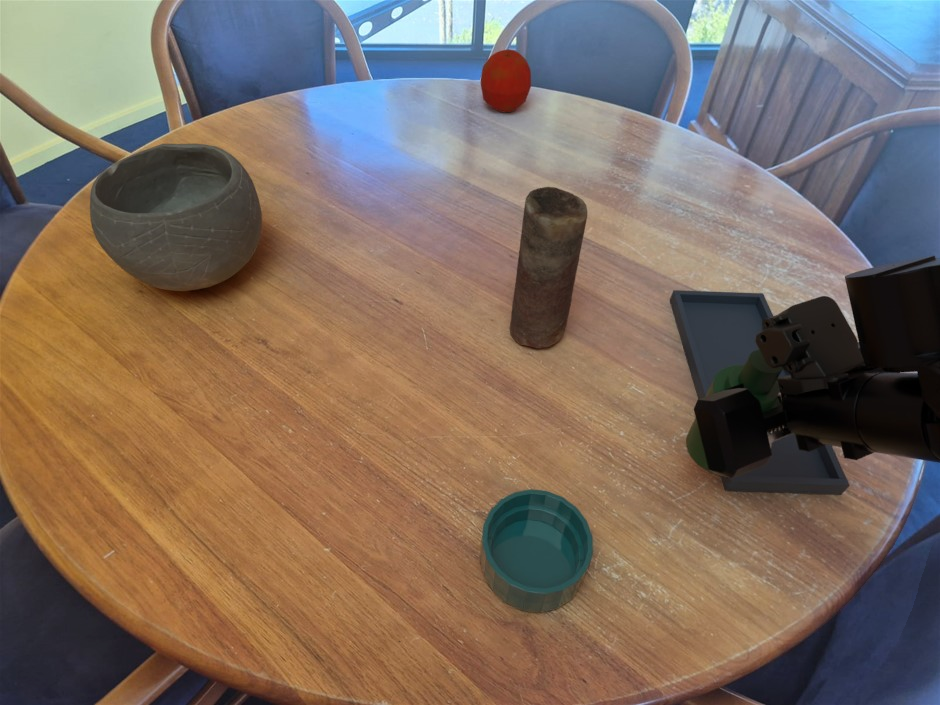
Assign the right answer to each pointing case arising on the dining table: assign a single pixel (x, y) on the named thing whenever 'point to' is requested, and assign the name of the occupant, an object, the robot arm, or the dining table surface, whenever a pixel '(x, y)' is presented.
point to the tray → (730, 344)
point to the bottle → (754, 378)
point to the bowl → (177, 215)
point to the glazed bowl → (535, 550)
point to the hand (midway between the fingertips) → (730, 398)
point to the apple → (505, 80)
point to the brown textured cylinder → (547, 265)
